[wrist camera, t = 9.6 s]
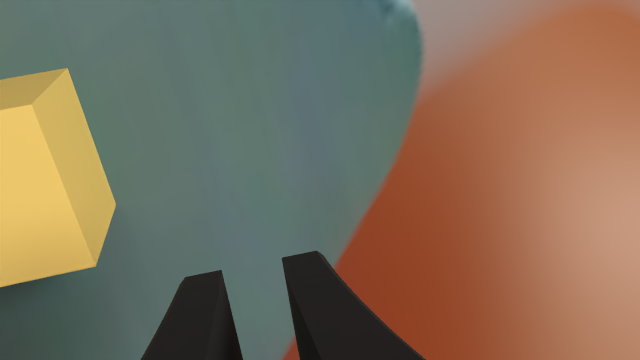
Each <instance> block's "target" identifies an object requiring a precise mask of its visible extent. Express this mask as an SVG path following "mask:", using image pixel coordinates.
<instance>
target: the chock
mask: <svg viewBox="0 0 640 360" xmlns="http://www.w3.org/2000/svg"><path fill="white" fill-rule="evenodd" d="M115 206H116V204H115V201H114V198H113V195H112V192H111V190H110V187H109V184H108V181H107V178H106V175H105V173H104V170H103V167H102V164H101V161H100V159H99V156H98V153H97V150H96V147H95V144H94V142H93V139H92V136H91V133H90V130H89V128H88V125H87V122H86V119H85V116H84V113H83V111H82V108H81V105H80V102H79V99H78V97H77V94H76V91H75V88H74V85H73V82H72V80H71V77H70V74H69V71H68V68H65V69H59V70H53V71H48V72H42V73H36V74H31V75H25V76H20V77H14V78H8V79H3V80H0V287H3V286H7V285H12V284H17V283H21V282H26V281H31V280H35V279H40V278H44V277H49V276H54V275H58V274H63V273H68V272H72V271H77V270H81V269H86V268H91V267H95V266H96V264H97V261H98V258H99V255H100V252H101V249H102V246H103V243H104V240H105V237H106V234H107V231H108V228H109V225H110V222H111V218H112V215H113V212H114V209H115Z"/></svg>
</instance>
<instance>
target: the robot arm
mask: <svg viewBox="0 0 640 360" xmlns="http://www.w3.org/2000/svg"><path fill="white" fill-rule="evenodd" d="M282 262H283V268H284V273H285V279H286V285H287V290H288V296H289V302H290V307H291V313H292V318H293V324H294V330H295V335H296V341H297V346H298V351H299V356H300V360H426V359H424V358H423V357H422V356H421V355H420V354H419V353H417V352H416V351H415V350H414V349H413V348H412V347H410V346H409V345H408V344H407V343H406V342H404V341H403V340H402V339H401V338H400V337H399V336H397V335H396V334H395V333H394V332H393V331H392V330H391V329H390V328H389V327H388V326H387V325H386V324H385V323H384V322H383V321H381V320H380V318H378V317H377V316H376V315H375V314H374V313H373V312H372V311H371V310H370V309H369V308H368V307H367V306H366V305H365V304H364V303H363V302H362V301H361V300H360V299H359V298H358V296H357V295H356V294H355V293H354V292H353V291H352V290H351V289H350V288H349V287H348V286H347V284H346V283H345V282H344V281H343V280H342V279H341V278H340V276H339V275H338V274H337V273H336V272H335V270H334V269H333V268H332V267H331V265H330V264H329V263H328V261H327V260H326V258H325V257H324V255H322V254H321V253H319V252H318V251H313V252H308V253H303V254H298V255H293V256H288V257H283V258H282ZM141 360H243V358H242V353H241V349H240V345H239V341H238V337H237V333H236V329H235V324H234V320H233V316H232V312H231V308H230V304H229V300H228V295H227V291H226V287H225V283H224V279H223V275H222V271H221V270H219V271H214V272H209V273H204V274H199V275H194V276H189V277H185V278H184V280H183V281H182V282H181V284H180V286H179V288H178V290H177V292H176V294H175V296H174V298H173V300H172V302H171V304H170V306H169V308H168V310H167V312H166V314H165V316H164V318H163V320H162V322H161V324H160V326H159V328H158V330H157V332H156V334H155V335H154V337H153V339H152V341H151V342H150V344H149V346H148V348H147V349H146V351H145V353H144V355H143V357H142V358H141Z"/></svg>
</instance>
